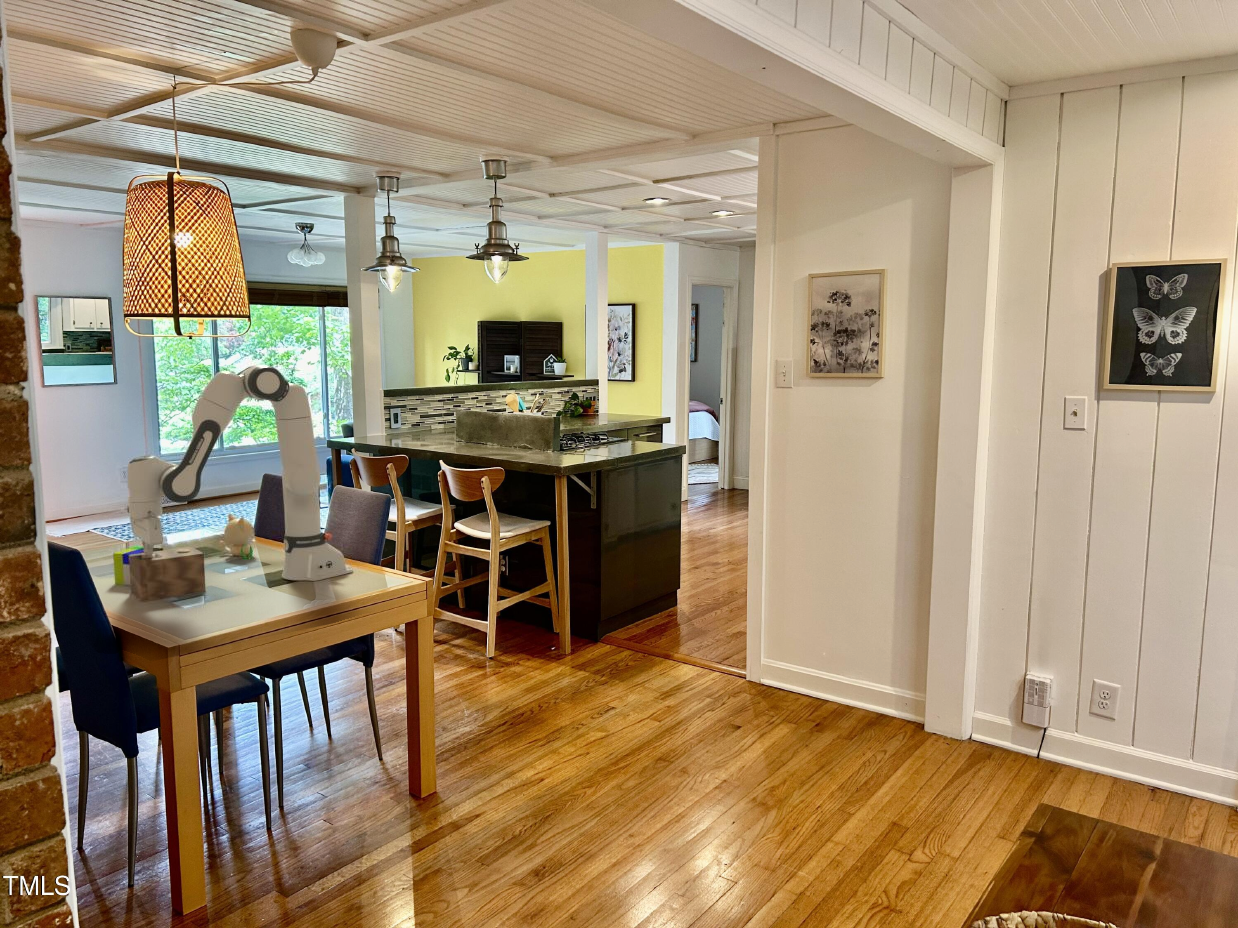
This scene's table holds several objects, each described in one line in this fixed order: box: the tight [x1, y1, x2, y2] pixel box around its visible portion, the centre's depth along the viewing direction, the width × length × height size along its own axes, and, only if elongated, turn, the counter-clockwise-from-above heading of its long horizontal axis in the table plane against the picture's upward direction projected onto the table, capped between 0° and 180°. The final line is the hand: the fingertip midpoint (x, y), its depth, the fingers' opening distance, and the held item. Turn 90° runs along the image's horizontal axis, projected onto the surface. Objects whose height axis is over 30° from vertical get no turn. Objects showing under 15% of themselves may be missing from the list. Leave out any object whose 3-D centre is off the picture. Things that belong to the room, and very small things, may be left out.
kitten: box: [218, 513, 256, 560], centre depth 318 cm, size 15×10×15 cm
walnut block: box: [129, 546, 207, 603], centre depth 270 cm, size 18×12×12 cm, turn 132°
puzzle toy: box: [112, 546, 164, 586], centre depth 283 cm, size 10×10×10 cm
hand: (148, 554), depth 266 cm, fingers closed
